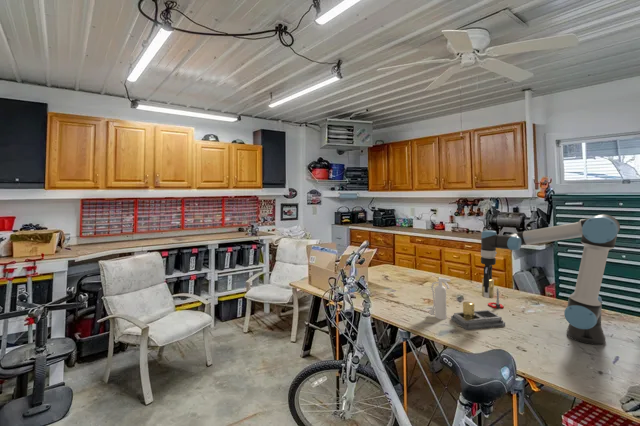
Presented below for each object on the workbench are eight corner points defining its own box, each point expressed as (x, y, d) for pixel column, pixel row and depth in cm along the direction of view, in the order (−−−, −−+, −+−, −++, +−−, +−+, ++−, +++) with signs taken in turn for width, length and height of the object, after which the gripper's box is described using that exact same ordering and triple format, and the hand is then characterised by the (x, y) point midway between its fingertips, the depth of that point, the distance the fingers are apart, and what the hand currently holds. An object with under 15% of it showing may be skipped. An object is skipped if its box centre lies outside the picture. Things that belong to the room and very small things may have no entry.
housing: (505, 326, 174) (505, 305, 174) (466, 330, 171) (466, 309, 170) (487, 315, 189) (487, 296, 188) (451, 319, 186) (451, 299, 185)
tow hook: (486, 303, 210) (491, 308, 201) (485, 285, 210) (491, 288, 201) (499, 304, 209) (505, 308, 199) (499, 285, 208) (505, 289, 199)
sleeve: (496, 297, 177) (496, 280, 176) (486, 298, 176) (486, 281, 175) (489, 294, 183) (489, 277, 182) (479, 295, 182) (479, 278, 181)
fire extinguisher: (429, 313, 196) (430, 275, 193) (449, 316, 190) (451, 277, 188) (427, 317, 190) (428, 278, 187) (448, 321, 184) (450, 280, 182)
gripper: (493, 261, 168) (492, 302, 170) (498, 254, 183) (497, 292, 185) (477, 259, 173) (477, 299, 174) (484, 253, 188) (483, 290, 189)
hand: (487, 295), depth 180 cm, fingers closed on sleeve, 6 cm apart
